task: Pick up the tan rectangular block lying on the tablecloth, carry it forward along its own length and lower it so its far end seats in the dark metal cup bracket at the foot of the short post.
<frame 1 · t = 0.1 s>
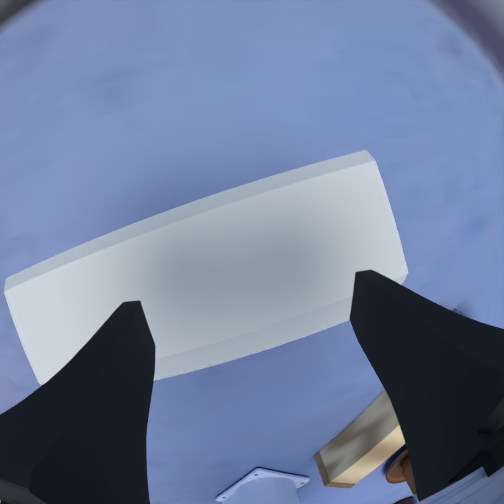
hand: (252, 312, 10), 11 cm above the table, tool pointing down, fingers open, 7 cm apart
tan rectangular block: (365, 423, 28), on the table
crown molding: (191, 292, 22), on the table
cup and saucer: (417, 449, 33), on the table
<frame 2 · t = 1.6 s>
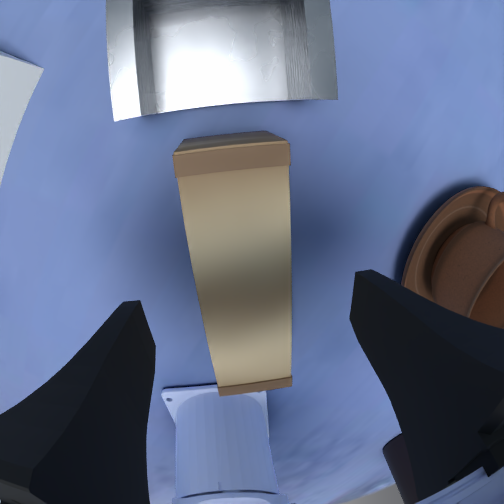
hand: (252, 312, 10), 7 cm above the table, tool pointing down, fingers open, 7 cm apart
bottle: (402, 438, 34), on the table
bracket: (218, 56, 12), on the table
tan rectangular block: (236, 253, 17), on the table
cup and saucer: (451, 254, 20), on the table
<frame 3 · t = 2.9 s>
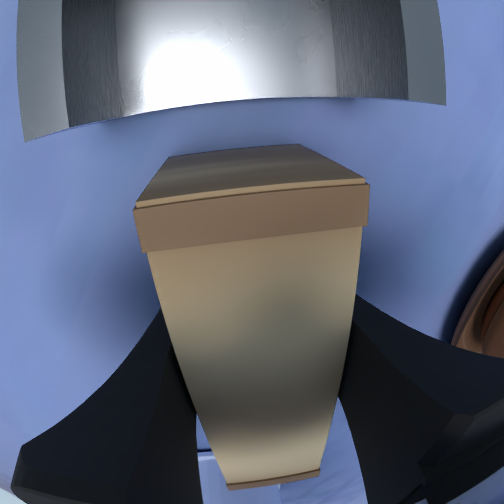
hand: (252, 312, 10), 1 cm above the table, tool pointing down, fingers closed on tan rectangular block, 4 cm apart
bracket: (223, 24, 7), on the table
tan rectangular block: (250, 320, 12), on the table, touching gripper
cup and saucer: (501, 295, 15), on the table
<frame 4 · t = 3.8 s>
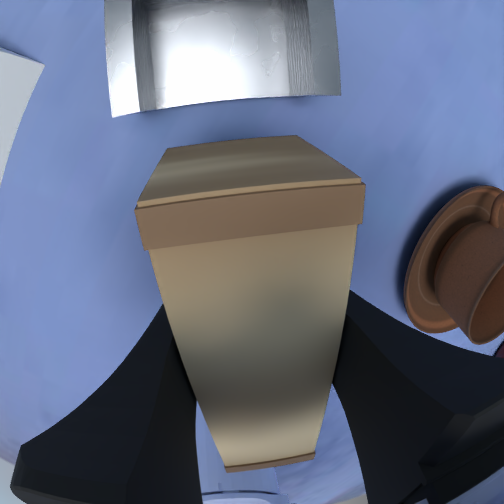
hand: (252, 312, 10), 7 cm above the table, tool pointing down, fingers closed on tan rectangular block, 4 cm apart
mug: (499, 353, 29), on the table
bracket: (218, 51, 12), on the table
tan rectangular block: (247, 306, 12), point 5 cm above the table, touching gripper
cup and saucer: (454, 253, 20), on the table
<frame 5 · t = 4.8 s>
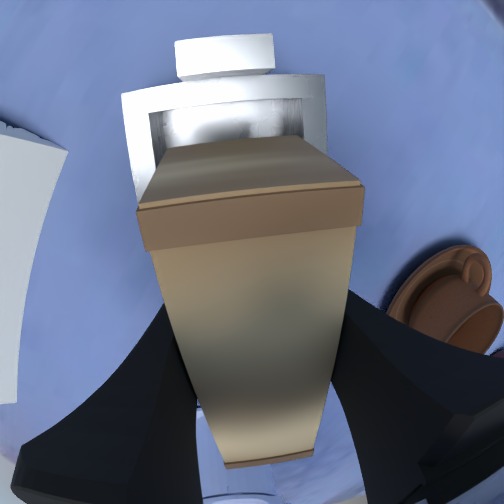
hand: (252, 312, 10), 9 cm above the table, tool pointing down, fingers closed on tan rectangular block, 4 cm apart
bracket: (225, 148, 16), on the table
tan rectangular block: (247, 304, 12), point 7 cm above the table, touching gripper
cup and saucer: (430, 297, 24), on the table
when the fingers open (3 cm above the table, at t = 6.1 s): tan rectangular block stays where it is, resting on bracket.
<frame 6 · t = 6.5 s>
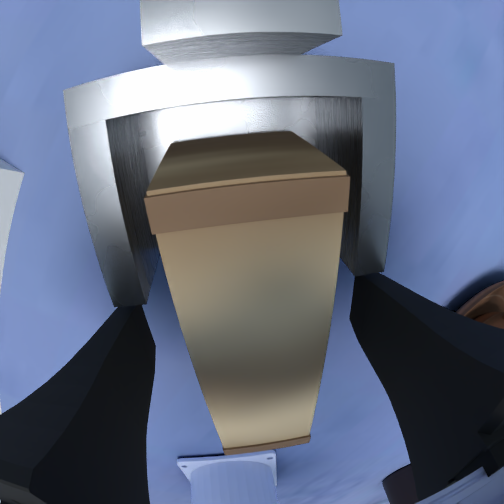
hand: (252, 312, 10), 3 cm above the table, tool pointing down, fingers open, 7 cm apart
bottle: (401, 471, 33), on the table
bracket: (232, 167, 11), on the table
tan rectangular block: (245, 292, 13), point 1 cm above the table, tilted 5°, touching bracket
cup and saucer: (464, 334, 19), on the table
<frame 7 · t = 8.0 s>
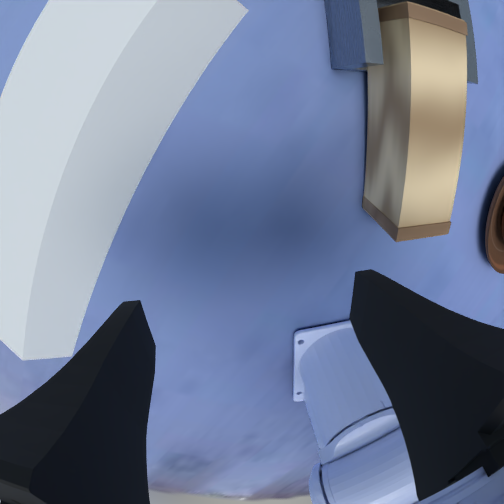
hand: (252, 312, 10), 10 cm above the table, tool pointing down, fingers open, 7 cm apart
bracket: (385, 38, 15), on the table
tan rectangular block: (394, 113, 17), point 1 cm above the table, tilted 5°, touching bracket
crown molding: (52, 172, 17), on the table
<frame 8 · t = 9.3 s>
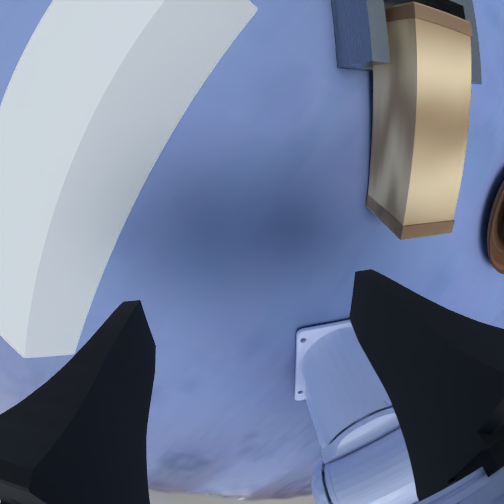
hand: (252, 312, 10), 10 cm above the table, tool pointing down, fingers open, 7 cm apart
bracket: (390, 38, 15), on the table
tan rectangular block: (399, 112, 17), point 1 cm above the table, tilted 5°, touching bracket
crown molding: (57, 167, 17), on the table
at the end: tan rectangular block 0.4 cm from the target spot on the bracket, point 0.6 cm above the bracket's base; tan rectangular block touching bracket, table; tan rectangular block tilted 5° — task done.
